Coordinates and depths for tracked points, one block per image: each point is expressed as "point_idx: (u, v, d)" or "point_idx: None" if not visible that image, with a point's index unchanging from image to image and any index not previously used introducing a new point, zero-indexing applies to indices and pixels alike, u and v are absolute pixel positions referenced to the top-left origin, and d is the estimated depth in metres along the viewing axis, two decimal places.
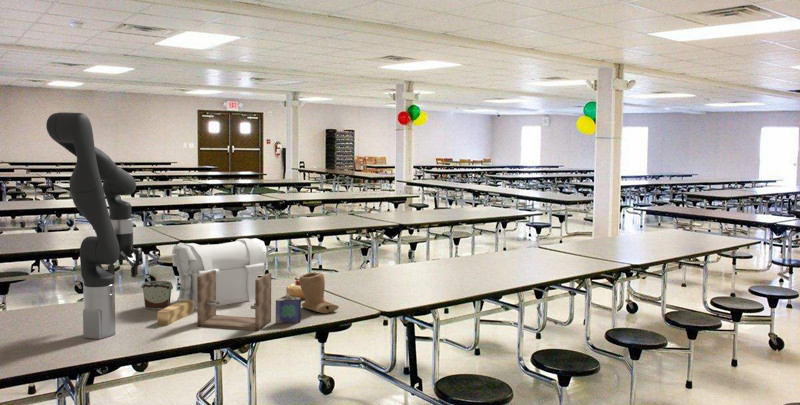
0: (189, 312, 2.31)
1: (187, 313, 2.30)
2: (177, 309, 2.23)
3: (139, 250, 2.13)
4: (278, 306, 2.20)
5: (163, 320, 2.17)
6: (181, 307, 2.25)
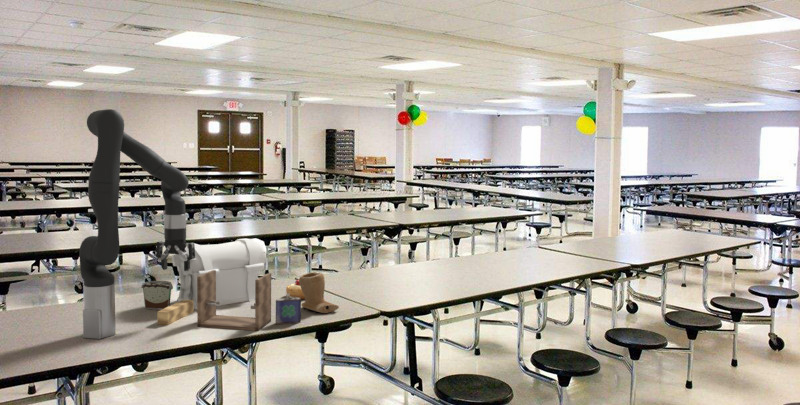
0: (189, 312, 2.31)
1: (187, 313, 2.30)
2: (177, 309, 2.23)
3: (192, 244, 2.22)
4: (278, 306, 2.20)
5: (163, 320, 2.17)
6: (181, 307, 2.25)
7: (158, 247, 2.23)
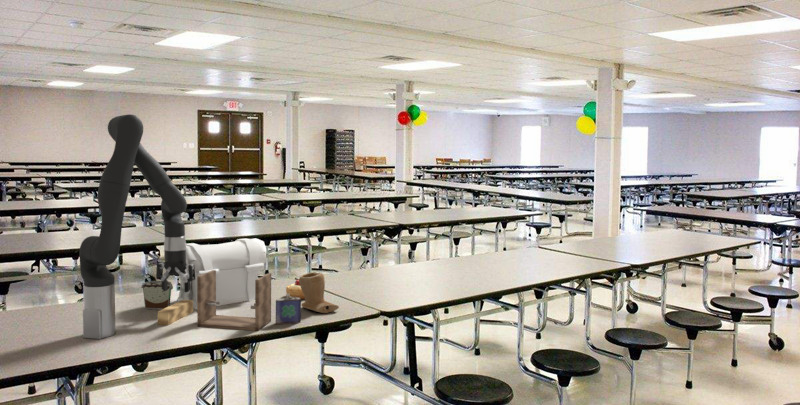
0: (189, 312, 2.31)
1: (187, 313, 2.30)
2: (177, 309, 2.23)
3: (192, 266, 2.23)
4: (278, 306, 2.20)
5: (163, 320, 2.17)
6: (181, 307, 2.25)
7: (158, 269, 2.24)
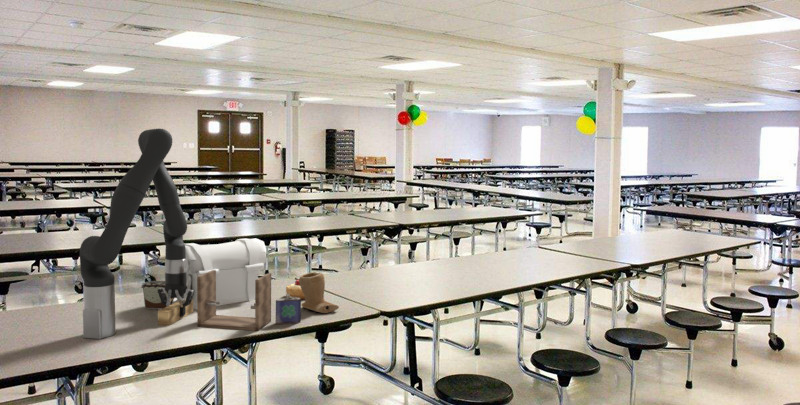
0: (189, 311, 2.31)
1: (187, 312, 2.30)
2: (177, 308, 2.23)
3: (192, 292, 2.24)
4: (278, 306, 2.20)
5: (163, 319, 2.17)
6: None
7: (161, 294, 2.25)
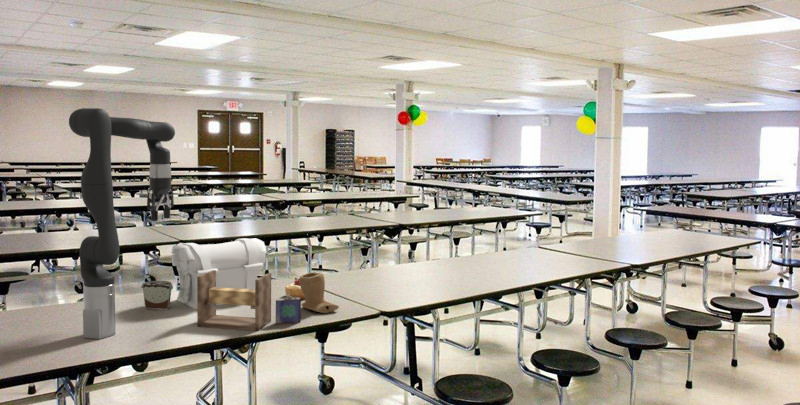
0: (248, 303, 2.16)
1: (244, 302, 2.17)
2: (226, 292, 2.17)
3: (149, 195, 2.20)
4: (278, 306, 2.20)
5: None
6: (233, 292, 2.17)
7: None
